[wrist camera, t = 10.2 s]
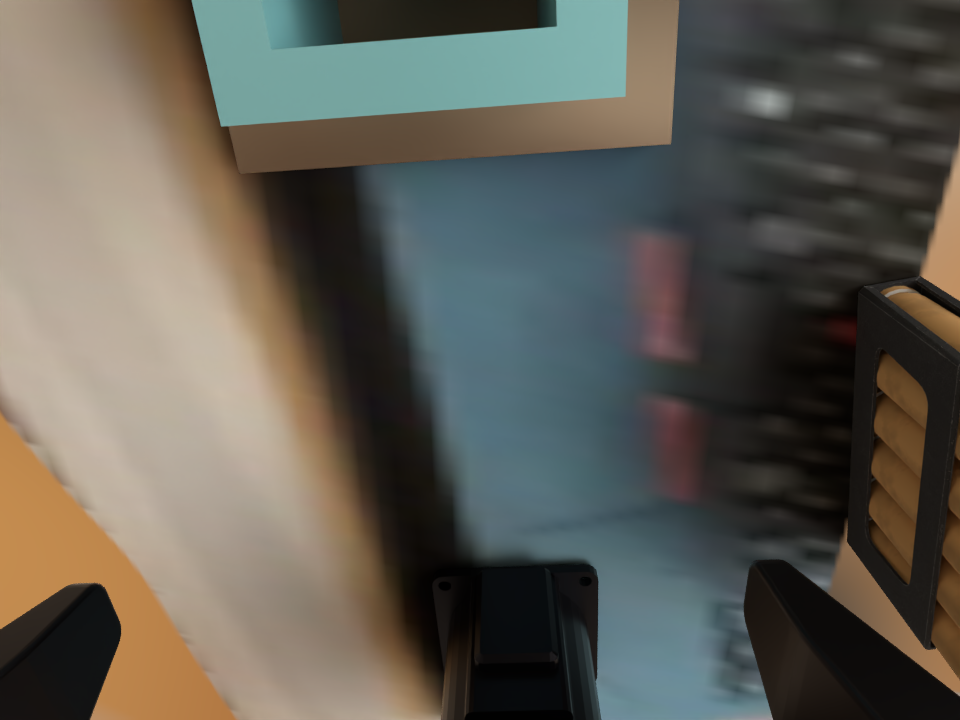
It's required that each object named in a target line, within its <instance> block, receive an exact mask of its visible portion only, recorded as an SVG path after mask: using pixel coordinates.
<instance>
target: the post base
mask: <svg viewBox="0 0 960 720" xmlns="http://www.w3.org/2000/svg"><path fill="white" fill-rule="evenodd" d="M337 3H338V10H339V16H340V23H341V30H342V37H343V43H344V44H348V43H360V42H373V41H385V40H398V39H410V38H422V37H435V36H447V35H460V34H472V33H485V32H497V31H509V30H522V29H534V28H538V20H537V0H337ZM678 11H679V0H628V19H627V59H626V97H614V98H600V99H587V100H573V101H560V102H546V103H533V104H519V105H506V106H492V107H479V108H465V109H452V110H438V111H425V112H412V113H398V114H385V115H371V116H358V117H344V118H331V119H317V120H304V121H290V122H277V123H263V124H250V125H236V126H228V127H229V131H230V136H231V140H232V144H233V149H234V153H235V157H236V162H237V166H238V170H239V174H244V173H259V172H273V171H288V170H302V169H317V168H331V167H346V166H360V165H375V164H389V163H404V162H418V161H433V160H447V159H462V158H476V157H491V156H505V155H520V154H534V153H548V152H563V151H577V150H592V149H606V148H621V147H635V146H650V145H664V144H671V135H672V117H673V99H674V82H675V64H676V46H677V29H678Z"/></svg>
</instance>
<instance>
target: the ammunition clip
mask: <svg viewBox="0 0 960 720" xmlns="http://www.w3.org/2000/svg"><path fill="white" fill-rule="evenodd" d="M847 542H848V544H849V545H850V546H851V547H852V549H853V550H854V552H855V553H856V555H857V556H858V557H859V558H860V560H861V561H862V563H863V564H864V566H865V567H866V568H867V570H868V571H869V572H870V574H871V575H872V576H873V578H874V579H875V581H876V582H877V583H878V585H879V586H880V587H881V589H882V590H883V592H884V593H885V594H886V596H887V597H888V598H889V600H890V601H891V603H892V604H893V605H894V607H895V608H896V609H897V611H898V612H899V614H900V615H901V616H902V617H903V619H904V620H905V622H906V623H907V625H908V626H909V627H910V629H911V630H912V631H913V633H914V634H915V636H916V637H917V638H918V640H919V641H920V642H921V644H922V645H923V647H924V648H925V649H927V650H931V649H936V648H937V649H938V651H939V652H940V653H941V655H942V656H943V657H944V659H945V660H946V662H947V663H948V664H949V666H950V667H951V668H952V670H953V671H954V673H955V674H956V675H957V677H958V678H959V679H960V301H959V300H957V299H955V298H954V297H952V296H951V295H949V294H948V293H946V292H944V291H942V290H941V289H940V288H938V287H937V286H935V285H933V284H932V283H930V282H929V281H927V280H926V279H924V278H922V277H921V276H919V277H913V278H908V279H902V280H896V281H891V282H885V283H880V284H874V285H869V286H864V287H863V288H862V289H861V290H860V291H859V292H858V311H857V334H856V356H855V379H854V401H853V424H852V446H851V469H850V491H849V514H848V531H847Z"/></svg>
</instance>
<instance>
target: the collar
mask: <svg viewBox="0 0 960 720" xmlns="http://www.w3.org/2000/svg"><path fill="white" fill-rule="evenodd" d="M192 4H193V9H194V13H195V17H196V21H197V26H198V30H199V34H200V38H201V43H202V47H203V51H204V55H205V60H206V64H207V68H208V73H209V77H210V81H211V85H212V90H213V94H214V98H215V102H216V107H217V111H218V115H219V119H220V124H221V127H223V126H236V125H250V124H263V123H277V122H290V121H304V120H317V119H331V118H344V117H358V116H371V115H385V114H398V113H412V112H425V111H438V110H452V109H465V108H479V107H492V106H506V105H519V104H533V103H546V102H560V101H573V100H587V99H600V98H614V97H626V59H627V19H628V0H537V20H538V28H534V29H522V30H509V31H497V32H485V33H472V34H460V35H447V36H435V37H422V38H410V39H398V40H385V41H373V42H360V43H348V44H344V43H343V37H342V30H341V23H340V16H339V10H338V3H337V0H192Z"/></svg>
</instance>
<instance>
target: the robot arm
mask: <svg viewBox="0 0 960 720" xmlns="http://www.w3.org/2000/svg"><path fill="white" fill-rule="evenodd" d="M585 576H586V577H588V578H585V579H582V577H585ZM443 581H446V582H449V583H442V582H443ZM432 588H433V596H434V603H435V610H436V617H437V624H438V632H439V639H440V646H441V653H442V661H443V668H444V675H445V676H444V688H443V700H442V712H441V720H601V714H600V708H599V701H598V695H597V688H596V679H597V641H598V577H597V572H596V569H595V568H594V567H593V566H590V565H586V564H578V565H549V566H520V567H491V568H462V569H442V570H439V571H437V572H436V573H435V574H434V576H433V584H432ZM744 617H745V623H746V626H747V630H748V633H749V637H750V640H751V644H752V647H753V651H754V654H755V658H756V661H757V665H758V668H759V672H760V675H761V679H762V682H763V686H764V689H765V693H766V696H767V700H768V703H769V707H770V710H771V714H772V717H773V720H960V696H958V695H957V694H956V693H955V692H953V691H952V690H951V689H949V688H948V687H947V686H946V685H944V684H943V683H942V682H941V681H939V680H938V679H937V678H935V677H934V676H933V675H932V674H930V673H929V672H928V671H926V670H925V669H924V668H922V667H921V666H920V665H919V664H917V663H916V662H915V661H914V660H912V659H911V658H910V657H908V656H907V655H906V654H904V653H903V652H902V651H901V650H899V649H898V648H897V647H896V646H894V645H893V644H892V643H890V642H889V641H888V640H886V639H885V638H884V637H883V636H881V635H880V634H879V633H878V632H876V631H875V630H874V629H872V628H871V627H870V626H869V625H867V624H866V623H865V622H863V621H862V620H861V619H859V618H858V617H857V616H856V615H854V614H853V613H852V612H850V611H849V610H848V609H847V608H845V607H844V606H843V605H842V604H840V603H839V602H838V601H836V600H835V599H834V598H833V597H831V596H830V595H829V594H827V593H826V592H825V591H824V590H822V589H821V588H820V587H819V586H817V585H816V584H815V583H813V582H812V581H811V580H810V579H808V578H807V577H806V576H804V575H803V574H802V573H801V572H799V571H798V570H797V569H795V568H794V567H793V566H792V565H790V564H789V563H787V562H786V561H783V560H779V559H778V560H756V561H753V562H752V563H751V565H750V567H749V572H748V579H747V586H746V592H745V599H744ZM120 637H121V624H120V621H119V619H118V616H117V614H116V612H115V610H114V607H113V605H112V602H111V600H110V598H109V596H108V594H107V591H106V589H105V587H103V586H102V585H101V584H98V583H81V584H80V583H78V584H71V585H68V586H66V587H64V588H63V589H61V590H60V591H58V592H57V593H55V594H54V595H52V596H51V597H49V598H48V599H46V600H45V601H43V602H42V603H40V604H38V605H37V606H35V607H34V608H32V609H31V610H30V611H28V612H26V613H25V614H23V615H22V616H20V617H19V618H17V619H16V620H14V621H13V622H11V623H10V624H8V625H6V626H5V627H3V628H2V629H0V720H90V718H91V716H92V713H93V710H94V707H95V705H96V702H97V700H98V697H99V694H100V692H101V689H102V686H103V684H104V681H105V679H106V676H107V673H108V671H109V668H110V665H111V662H112V660H113V658H114V655H115V652H116V650H117V647H118V644H119V641H120Z"/></svg>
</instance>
